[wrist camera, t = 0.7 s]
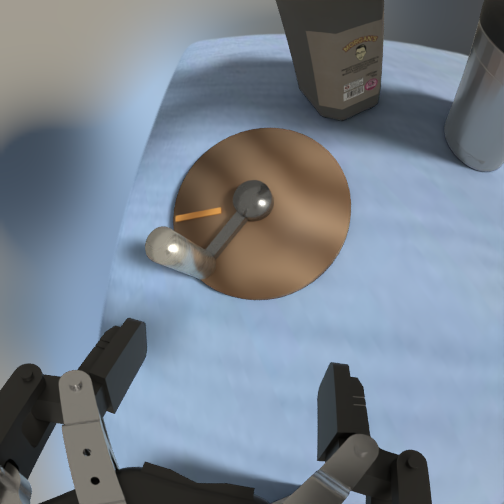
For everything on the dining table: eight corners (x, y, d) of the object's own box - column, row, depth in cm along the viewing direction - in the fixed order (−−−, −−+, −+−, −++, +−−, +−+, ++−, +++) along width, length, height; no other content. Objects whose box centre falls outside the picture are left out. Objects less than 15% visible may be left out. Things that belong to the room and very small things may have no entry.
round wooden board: (251, 111, 39) (247, 104, 38) (385, 191, 32) (387, 185, 31) (150, 229, 39) (143, 225, 37) (270, 339, 32) (266, 340, 31)
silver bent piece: (253, 179, 35) (226, 135, 26) (281, 199, 33) (260, 156, 25) (183, 265, 34) (136, 244, 26) (208, 288, 33) (164, 273, 25)
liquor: (388, 102, 35) (390, -126, 6) (329, 130, 36) (276, -121, 8) (349, 61, 37) (318, -135, 9) (293, 85, 39) (222, -119, 11)
